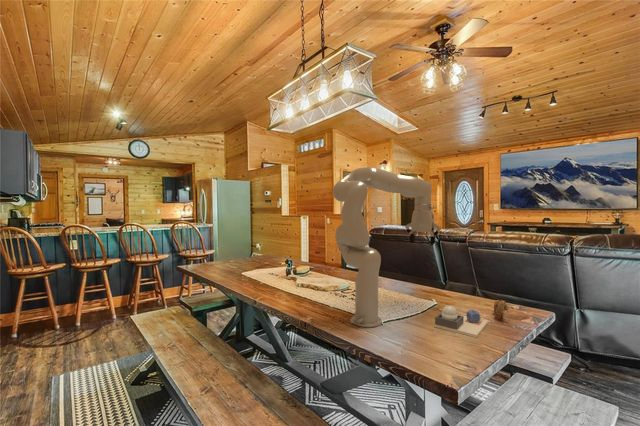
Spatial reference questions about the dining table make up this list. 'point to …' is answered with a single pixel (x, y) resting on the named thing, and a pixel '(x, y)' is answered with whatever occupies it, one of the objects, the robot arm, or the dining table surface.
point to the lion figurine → (500, 308)
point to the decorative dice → (473, 316)
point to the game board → (460, 325)
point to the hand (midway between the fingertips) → (422, 243)
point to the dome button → (449, 313)
